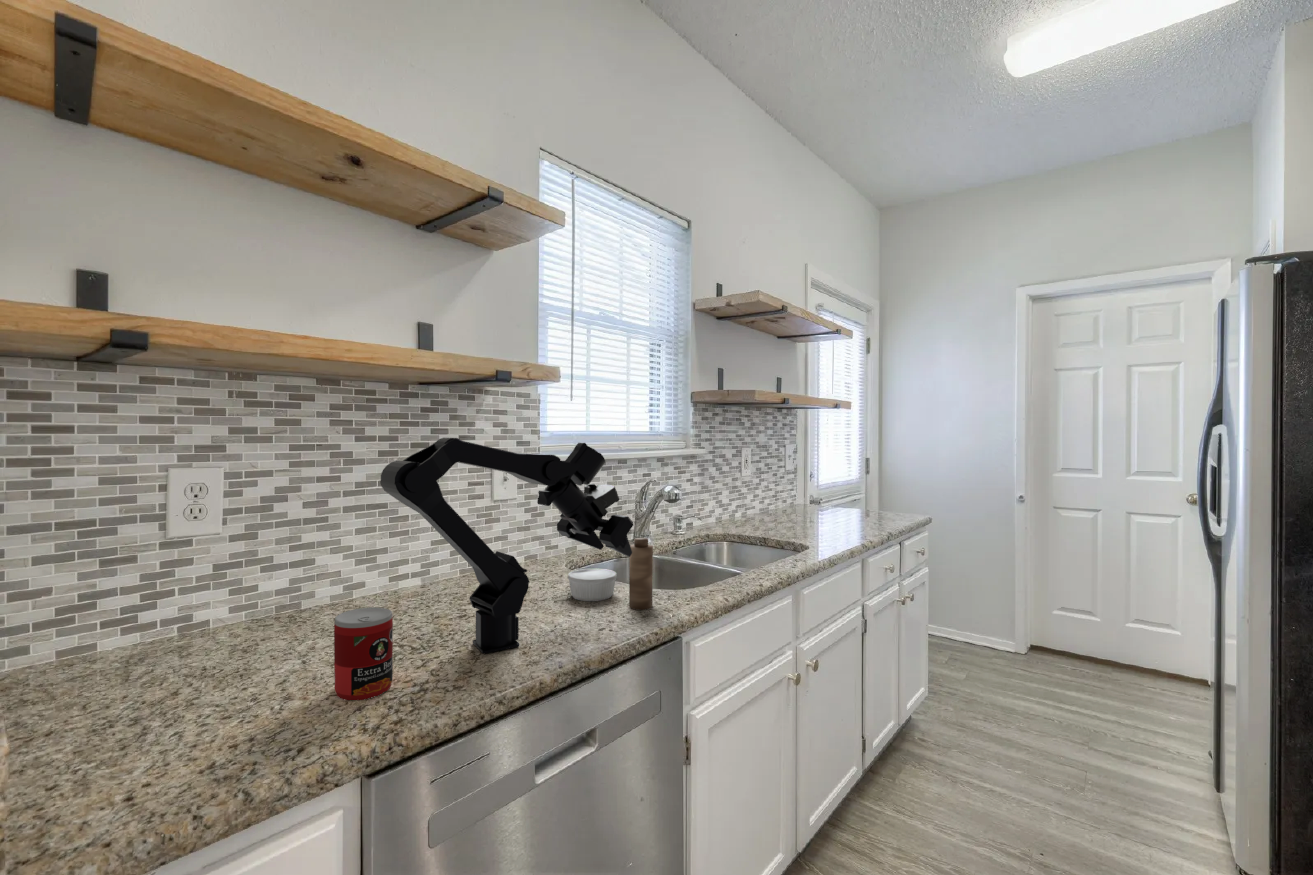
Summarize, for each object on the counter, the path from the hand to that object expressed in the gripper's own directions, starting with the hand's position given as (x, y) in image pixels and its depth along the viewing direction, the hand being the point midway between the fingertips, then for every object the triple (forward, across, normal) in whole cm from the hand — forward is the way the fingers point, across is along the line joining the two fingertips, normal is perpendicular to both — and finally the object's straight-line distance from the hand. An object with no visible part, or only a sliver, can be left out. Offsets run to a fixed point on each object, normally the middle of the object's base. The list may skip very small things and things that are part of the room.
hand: (616, 551), depth 125 cm
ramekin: (+12, +14, +6) cm, 19 cm away
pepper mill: (+14, 0, +4) cm, 15 cm away
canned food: (-27, -3, +45) cm, 52 cm away
